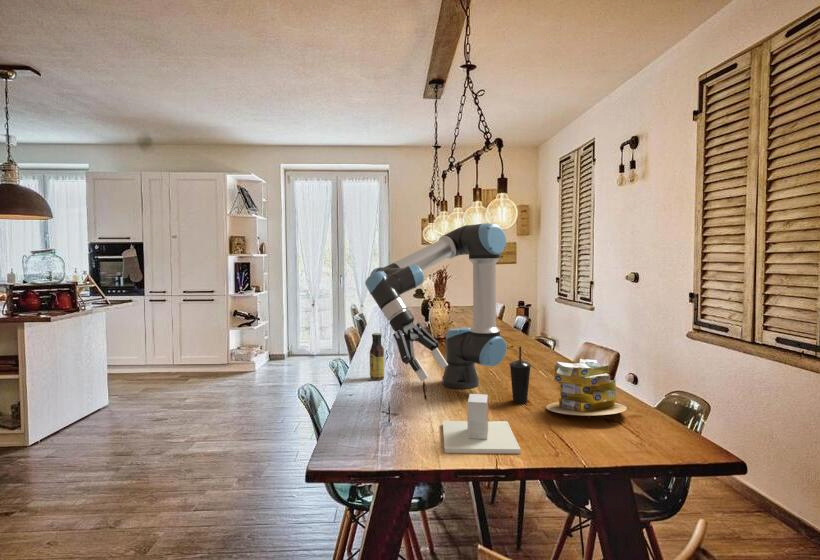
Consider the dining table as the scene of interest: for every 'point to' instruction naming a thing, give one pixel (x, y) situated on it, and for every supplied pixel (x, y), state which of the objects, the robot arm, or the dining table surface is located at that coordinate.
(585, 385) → the stacked boxes on plate
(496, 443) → the white square board
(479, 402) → the small box
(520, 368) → the drinking cup
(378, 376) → the sauce bottle
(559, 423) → the dining table surface
